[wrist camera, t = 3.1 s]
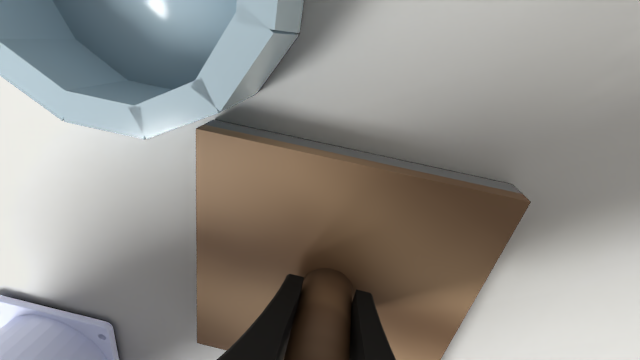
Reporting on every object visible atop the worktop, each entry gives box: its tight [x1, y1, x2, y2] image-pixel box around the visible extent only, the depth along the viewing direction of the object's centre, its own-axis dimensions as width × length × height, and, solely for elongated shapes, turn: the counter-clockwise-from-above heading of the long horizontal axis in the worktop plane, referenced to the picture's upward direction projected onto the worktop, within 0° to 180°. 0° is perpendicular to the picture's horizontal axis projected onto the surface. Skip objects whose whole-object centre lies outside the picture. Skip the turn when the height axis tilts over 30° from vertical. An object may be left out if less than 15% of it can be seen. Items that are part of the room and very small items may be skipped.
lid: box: [196, 125, 530, 360], centre depth 12 cm, size 12×12×5 cm
